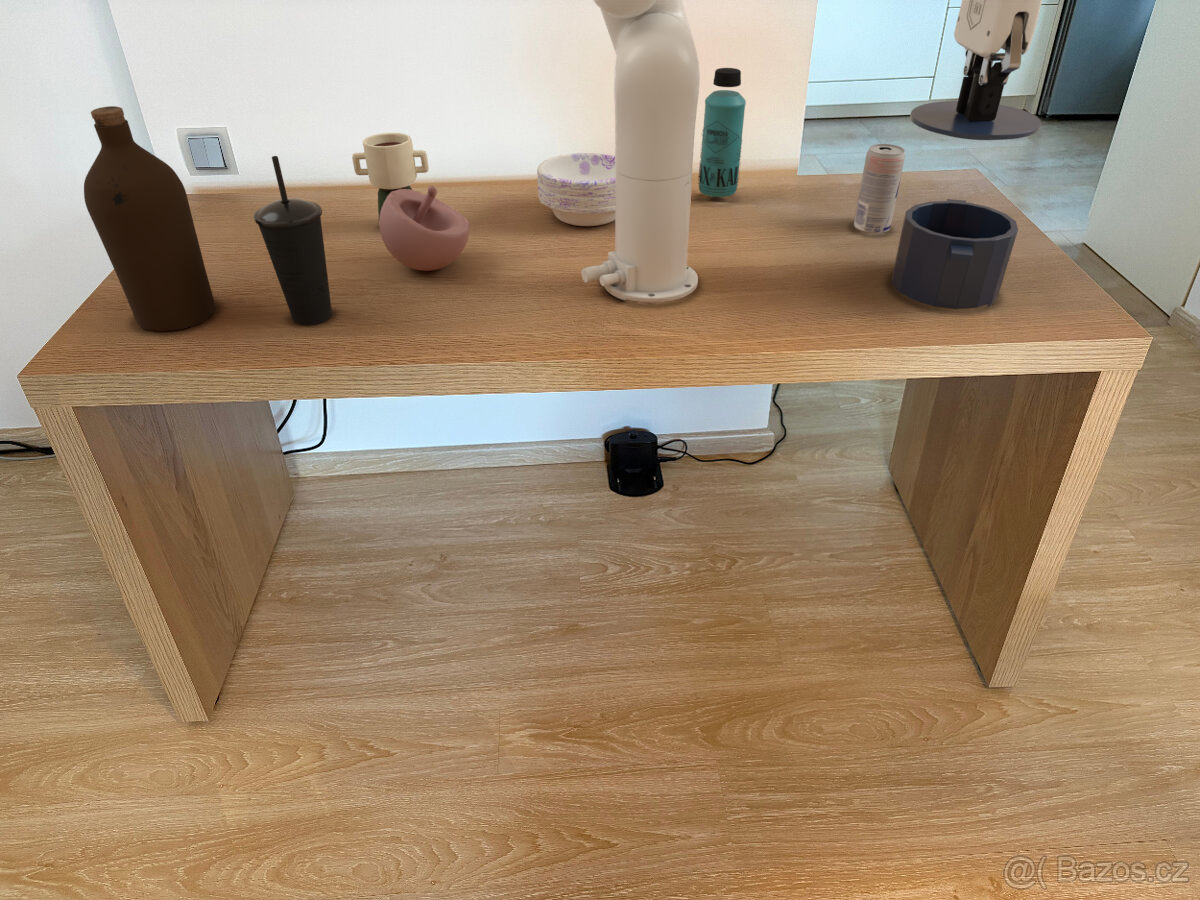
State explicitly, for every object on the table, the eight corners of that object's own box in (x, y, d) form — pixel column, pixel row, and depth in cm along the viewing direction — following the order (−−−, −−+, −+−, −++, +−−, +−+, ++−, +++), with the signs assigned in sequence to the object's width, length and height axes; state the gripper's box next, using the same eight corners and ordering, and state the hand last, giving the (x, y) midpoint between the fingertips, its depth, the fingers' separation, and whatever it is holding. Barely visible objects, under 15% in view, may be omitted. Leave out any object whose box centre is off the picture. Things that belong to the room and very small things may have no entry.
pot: (991, 266, 117) (1010, 199, 111) (1001, 328, 102) (1024, 255, 97) (892, 255, 120) (906, 189, 114) (889, 314, 105) (905, 242, 100)
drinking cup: (284, 335, 102) (241, 171, 90) (277, 309, 108) (236, 151, 96) (348, 323, 105) (314, 162, 93) (338, 298, 110) (304, 143, 98)
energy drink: (886, 223, 129) (902, 143, 122) (892, 236, 125) (909, 155, 118) (850, 222, 130) (864, 143, 123) (855, 235, 125) (870, 154, 118)
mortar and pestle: (470, 283, 114) (461, 200, 107) (381, 287, 113) (366, 204, 106) (475, 247, 123) (467, 169, 116) (392, 250, 123) (379, 172, 116)
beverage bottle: (697, 191, 141) (706, 63, 129) (737, 193, 140) (749, 64, 128) (696, 205, 136) (704, 73, 124) (737, 207, 135) (749, 74, 123)
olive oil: (233, 317, 106) (171, 111, 91) (145, 343, 101) (64, 129, 86) (205, 288, 113) (142, 92, 98) (121, 312, 108) (42, 108, 93)
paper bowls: (625, 195, 140) (625, 147, 135) (644, 230, 128) (646, 178, 123) (534, 202, 138) (531, 153, 133) (545, 238, 126) (542, 185, 121)
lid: (1031, 114, 103) (1046, 62, 99) (1045, 149, 92) (1062, 92, 88) (909, 107, 106) (919, 56, 103) (908, 140, 95) (919, 84, 92)
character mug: (437, 214, 134) (426, 130, 126) (434, 232, 128) (423, 145, 120) (367, 218, 133) (352, 133, 125) (361, 235, 127) (345, 148, 119)
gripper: (954, -75, 94) (919, 99, 105) (1017, -58, 81) (970, 138, 92) (1021, -76, 94) (978, 97, 105) (1094, -60, 81) (1038, 136, 92)
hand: (975, 115), depth 98 cm, fingers closed on lid, 2 cm apart
